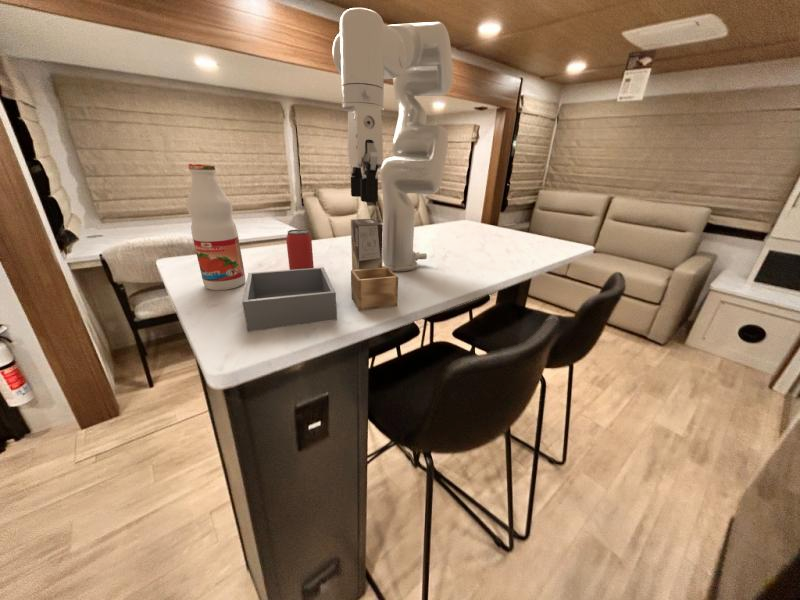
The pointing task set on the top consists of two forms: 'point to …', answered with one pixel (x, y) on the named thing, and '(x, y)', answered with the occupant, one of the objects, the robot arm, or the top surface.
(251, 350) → the top surface
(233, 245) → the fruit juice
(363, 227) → the coffee box
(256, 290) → the big crate
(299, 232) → the beer can
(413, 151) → the robot arm
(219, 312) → the top surface
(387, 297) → the small crate
